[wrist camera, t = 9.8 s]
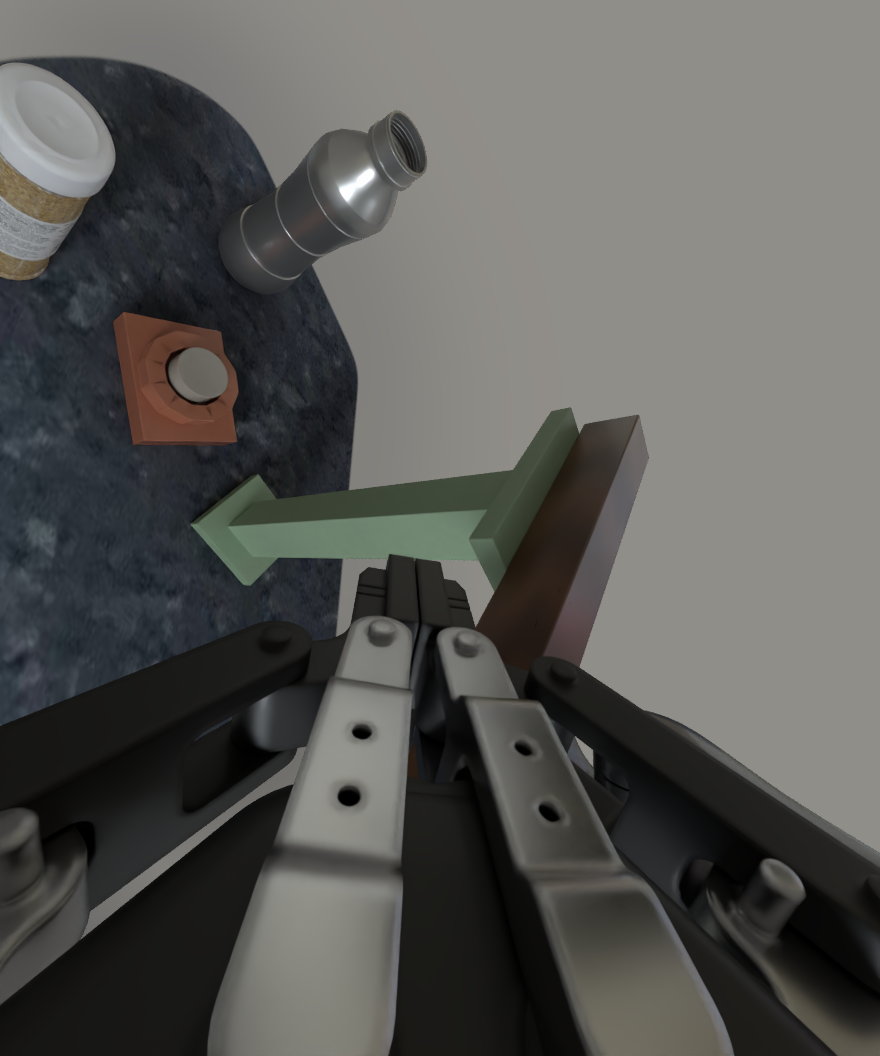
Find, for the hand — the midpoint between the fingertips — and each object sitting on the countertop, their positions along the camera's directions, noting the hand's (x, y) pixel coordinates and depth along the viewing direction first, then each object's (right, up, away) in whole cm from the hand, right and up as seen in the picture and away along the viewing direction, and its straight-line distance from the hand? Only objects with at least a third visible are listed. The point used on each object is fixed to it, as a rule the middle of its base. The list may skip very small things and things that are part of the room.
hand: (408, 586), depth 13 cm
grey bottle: (-17, +26, +29) cm, 42 cm away
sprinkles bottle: (-27, +20, +16) cm, 37 cm away
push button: (-18, +13, +21) cm, 30 cm away
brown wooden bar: (+5, 0, +7) cm, 9 cm away
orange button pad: (-20, +13, +23) cm, 34 cm away
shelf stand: (-16, +2, +28) cm, 32 cm away
